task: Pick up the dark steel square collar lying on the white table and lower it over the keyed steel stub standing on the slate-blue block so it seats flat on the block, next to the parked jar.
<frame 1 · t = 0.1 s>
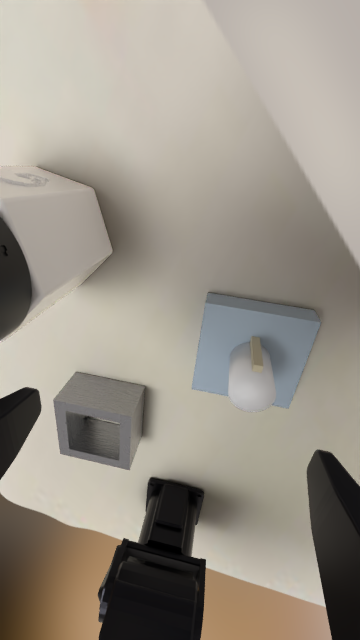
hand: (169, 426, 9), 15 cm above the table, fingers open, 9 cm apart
jar: (60, 230, 23), on the table
collar: (110, 405, 30), on the table
shaft block: (248, 345, 24), on the table
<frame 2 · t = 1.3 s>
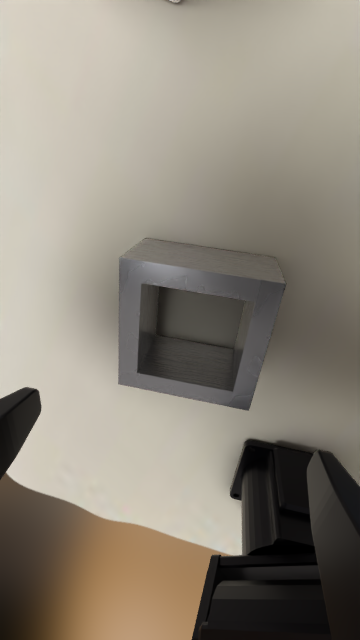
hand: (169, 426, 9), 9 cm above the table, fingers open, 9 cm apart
collar: (199, 306, 17), on the table
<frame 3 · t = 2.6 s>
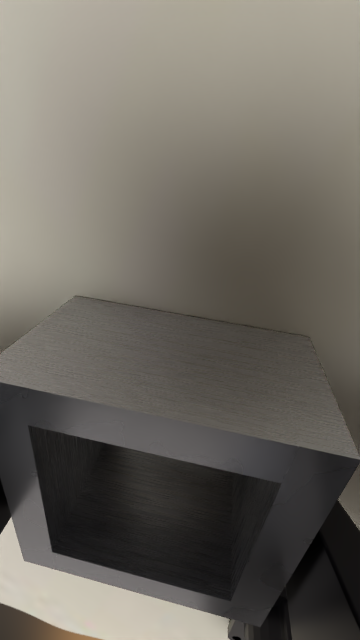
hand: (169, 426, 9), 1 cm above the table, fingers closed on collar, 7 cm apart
collar: (175, 404, 10), on the table, touching gripper
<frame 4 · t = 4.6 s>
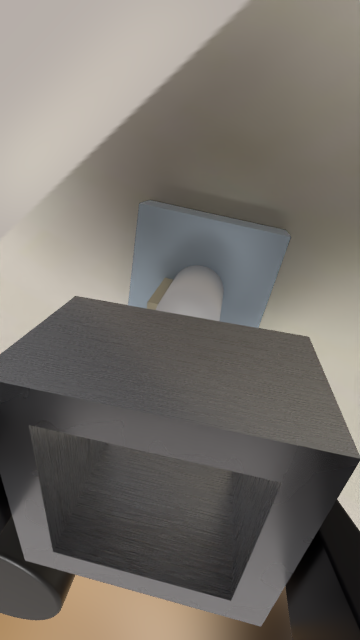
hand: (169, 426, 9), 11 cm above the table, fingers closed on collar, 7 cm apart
jar: (90, 421, 27), on the table
collar: (175, 403, 10), point 10 cm above the table, touching gripper
shaft block: (201, 279, 19), on the table
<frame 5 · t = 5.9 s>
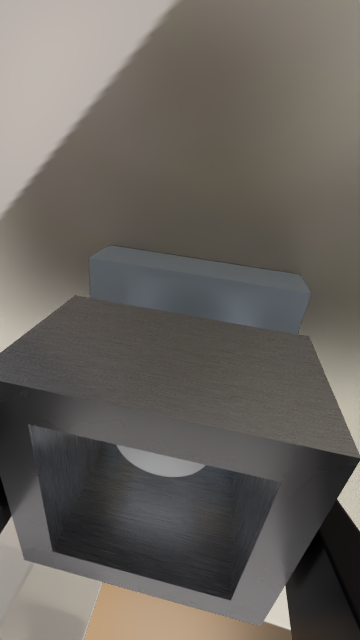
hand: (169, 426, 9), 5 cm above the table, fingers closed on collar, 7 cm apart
jar: (74, 499, 22), on the table
collar: (175, 403, 10), point 4 cm above the table, touching gripper
shaft block: (189, 340, 14), on the table
when the fingers open (4 cm above the table, at t = 6.7 s): collar stays where it is, resting on shaft block.
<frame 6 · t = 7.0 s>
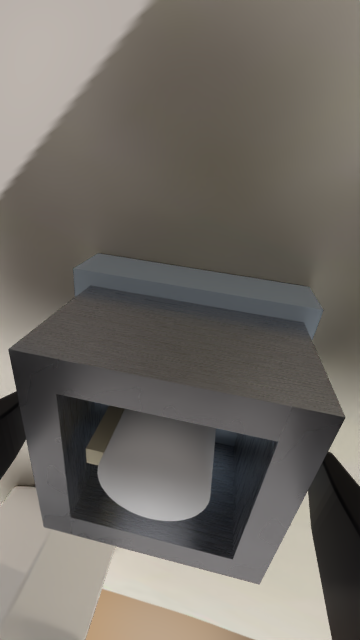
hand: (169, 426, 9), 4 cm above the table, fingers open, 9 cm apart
jar: (66, 517, 21), on the table
collar: (181, 386, 11), point 2 cm above the table, touching shaft block
shaft block: (187, 356, 13), on the table
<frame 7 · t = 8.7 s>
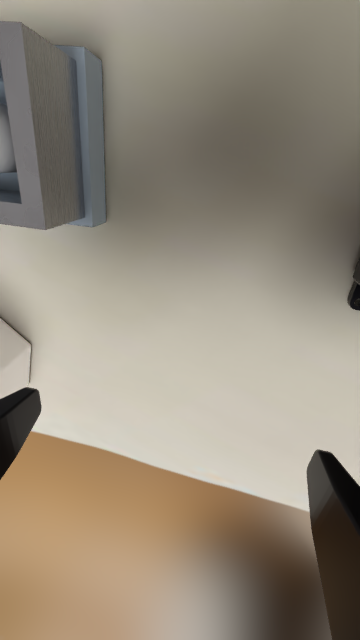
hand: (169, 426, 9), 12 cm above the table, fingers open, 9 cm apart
collar: (18, 141, 16), point 2 cm above the table, touching shaft block
shaft block: (39, 144, 17), on the table
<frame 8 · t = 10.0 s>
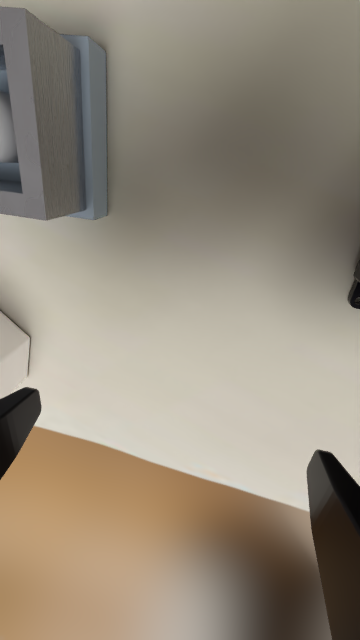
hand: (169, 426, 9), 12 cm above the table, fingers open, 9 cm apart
collar: (21, 131, 16), point 2 cm above the table, touching shaft block
shaft block: (41, 135, 17), on the table
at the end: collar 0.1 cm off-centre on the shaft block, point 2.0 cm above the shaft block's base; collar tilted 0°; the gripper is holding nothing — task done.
